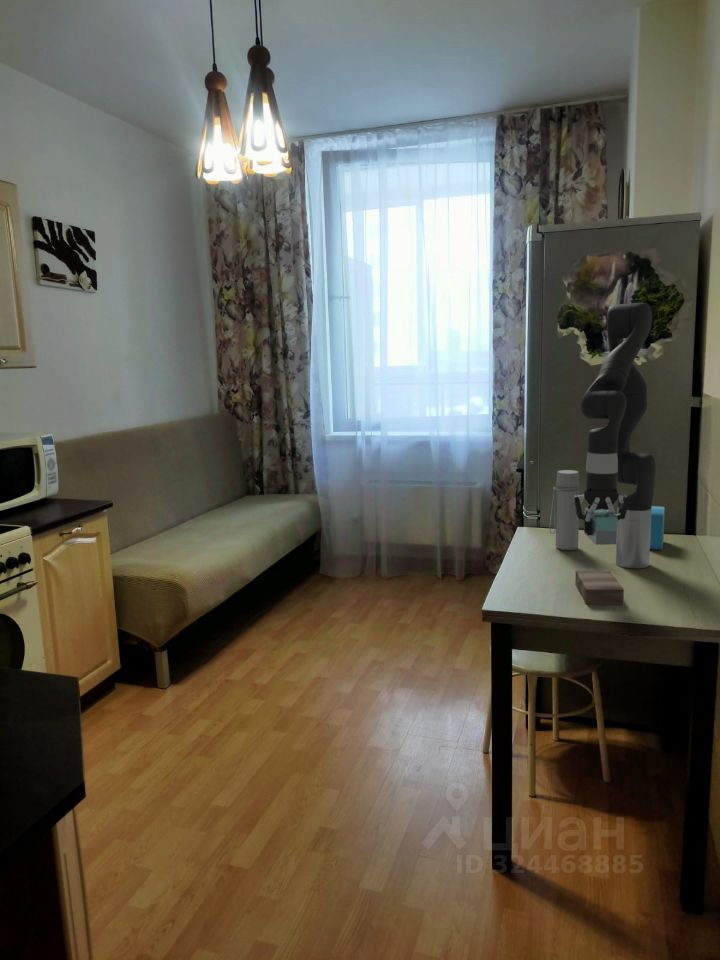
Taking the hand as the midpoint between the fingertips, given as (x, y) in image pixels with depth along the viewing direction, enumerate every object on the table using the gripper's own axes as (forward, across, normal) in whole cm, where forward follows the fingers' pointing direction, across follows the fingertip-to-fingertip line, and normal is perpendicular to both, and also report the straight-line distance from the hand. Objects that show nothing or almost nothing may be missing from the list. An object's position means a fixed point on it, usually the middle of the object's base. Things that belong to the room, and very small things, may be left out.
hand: (599, 534), depth 175 cm
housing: (+1, 0, 0) cm, 1 cm away
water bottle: (+16, -2, +43) cm, 46 cm away
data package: (+16, +27, +46) cm, 56 cm away
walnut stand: (+16, 0, 0) cm, 16 cm away
